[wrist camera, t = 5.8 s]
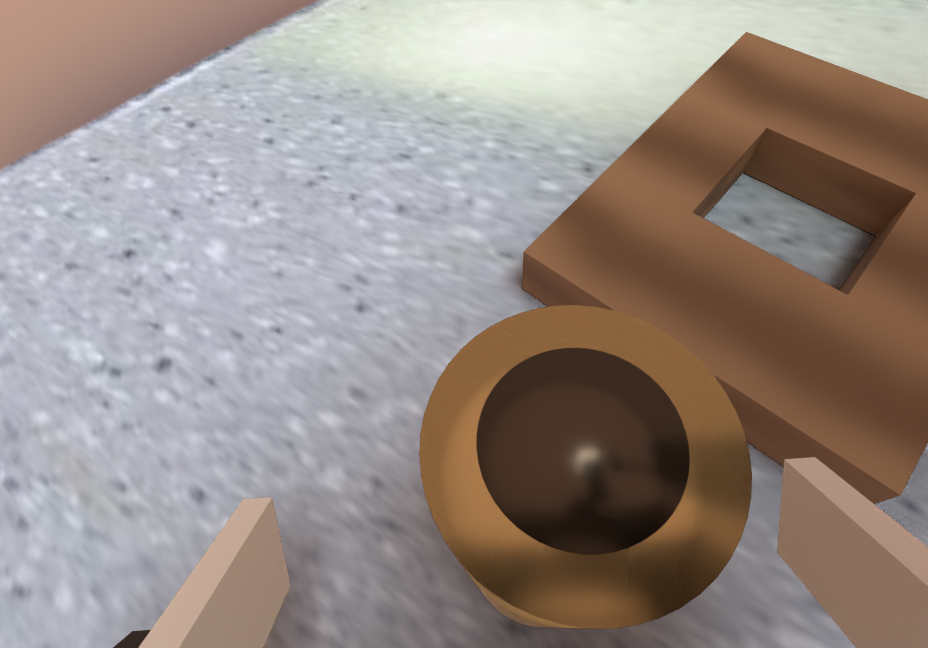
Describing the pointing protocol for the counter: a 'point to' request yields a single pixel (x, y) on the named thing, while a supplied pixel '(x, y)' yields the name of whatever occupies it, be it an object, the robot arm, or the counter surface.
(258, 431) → the counter surface
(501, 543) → the brass bushing
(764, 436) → the walnut jig plate
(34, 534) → the counter surface
